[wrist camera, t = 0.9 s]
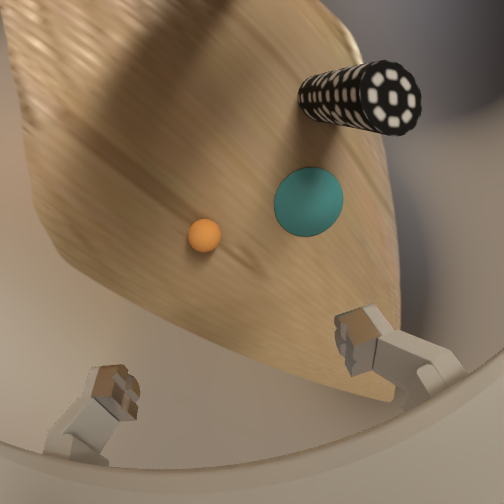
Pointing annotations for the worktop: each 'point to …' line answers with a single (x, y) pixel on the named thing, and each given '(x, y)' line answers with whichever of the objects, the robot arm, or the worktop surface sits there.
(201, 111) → the worktop surface
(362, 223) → the worktop surface
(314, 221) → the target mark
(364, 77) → the spotted tube
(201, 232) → the ball
